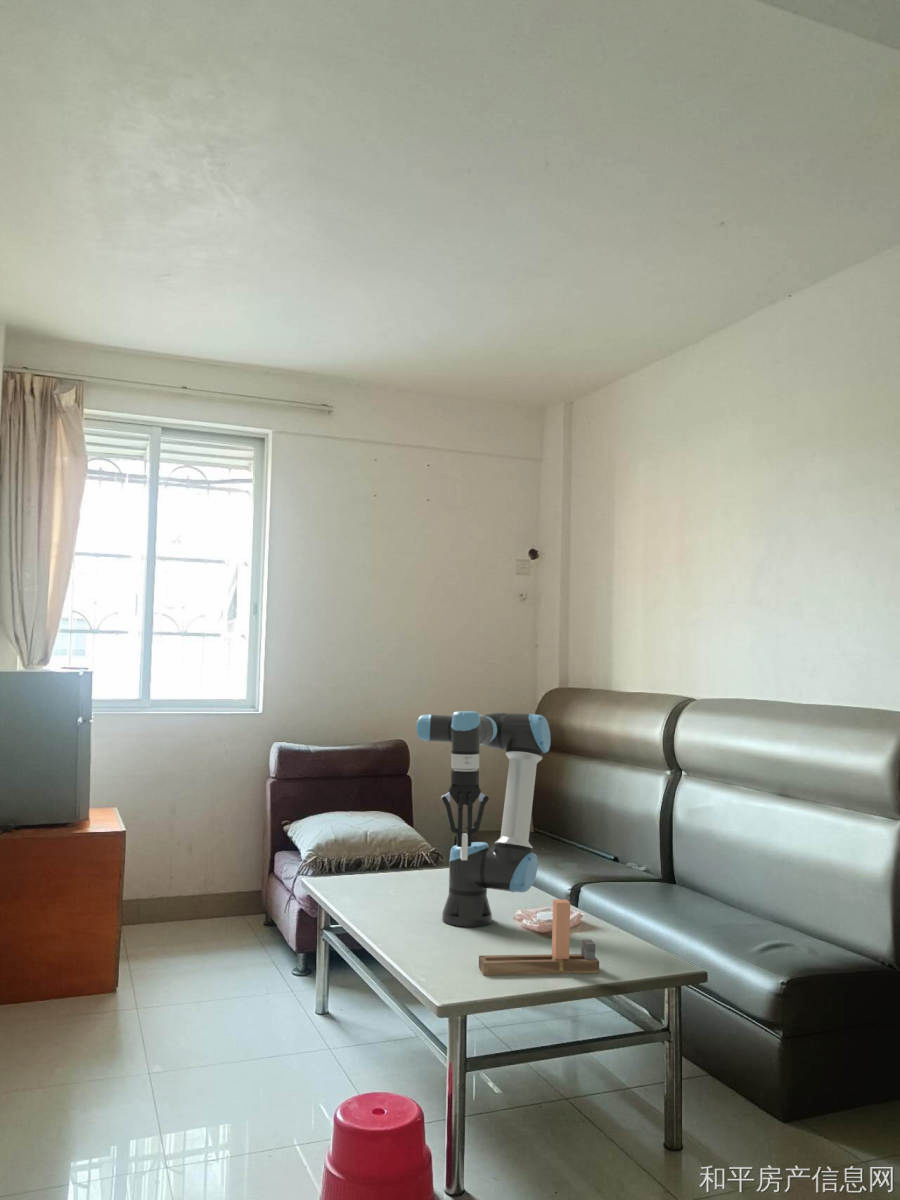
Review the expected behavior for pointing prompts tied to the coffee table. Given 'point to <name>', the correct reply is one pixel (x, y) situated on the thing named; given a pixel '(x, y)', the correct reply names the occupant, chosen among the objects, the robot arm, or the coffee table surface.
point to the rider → (561, 929)
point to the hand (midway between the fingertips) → (463, 859)
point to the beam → (541, 963)
